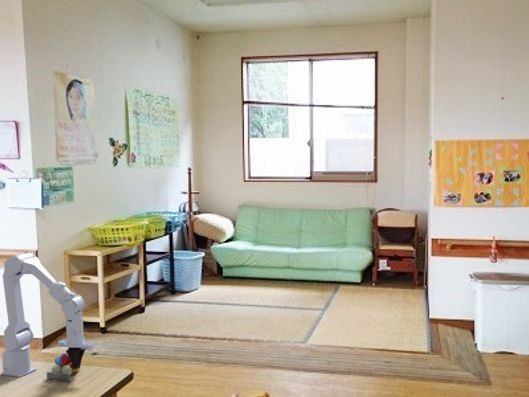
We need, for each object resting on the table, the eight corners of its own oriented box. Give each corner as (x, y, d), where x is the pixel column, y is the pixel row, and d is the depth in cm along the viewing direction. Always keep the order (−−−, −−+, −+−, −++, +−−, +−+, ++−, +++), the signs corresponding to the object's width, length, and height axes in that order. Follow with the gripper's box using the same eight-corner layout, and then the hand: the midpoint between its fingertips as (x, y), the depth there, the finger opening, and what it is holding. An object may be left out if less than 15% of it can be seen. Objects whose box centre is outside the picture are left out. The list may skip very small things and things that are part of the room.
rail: (47, 379, 202) (46, 372, 202) (48, 378, 202) (48, 371, 202) (68, 383, 198) (68, 376, 197) (70, 382, 198) (70, 375, 198)
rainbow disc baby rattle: (71, 378, 202) (70, 358, 202) (47, 376, 204) (46, 357, 204) (84, 369, 210) (83, 350, 210) (61, 368, 212) (60, 349, 212)
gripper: (98, 329, 204) (100, 366, 205) (67, 325, 210) (69, 361, 211) (84, 334, 198) (86, 373, 198) (53, 331, 204) (55, 368, 204)
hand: (76, 367), depth 204 cm, fingers closed
